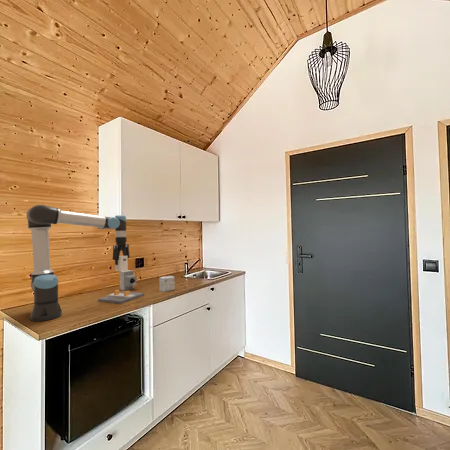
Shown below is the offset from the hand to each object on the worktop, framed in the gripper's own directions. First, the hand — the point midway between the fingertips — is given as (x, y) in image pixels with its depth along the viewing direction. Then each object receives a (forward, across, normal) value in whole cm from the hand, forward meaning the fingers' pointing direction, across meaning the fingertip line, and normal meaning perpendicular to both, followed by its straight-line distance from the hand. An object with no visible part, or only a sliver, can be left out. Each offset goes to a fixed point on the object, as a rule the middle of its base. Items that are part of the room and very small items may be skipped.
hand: (121, 268), depth 197 cm
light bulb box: (+22, +32, -17) cm, 42 cm away
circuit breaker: (+22, +24, +15) cm, 36 cm away
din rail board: (+21, 0, 0) cm, 21 cm away
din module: (+1, 0, 0) cm, 1 cm away
